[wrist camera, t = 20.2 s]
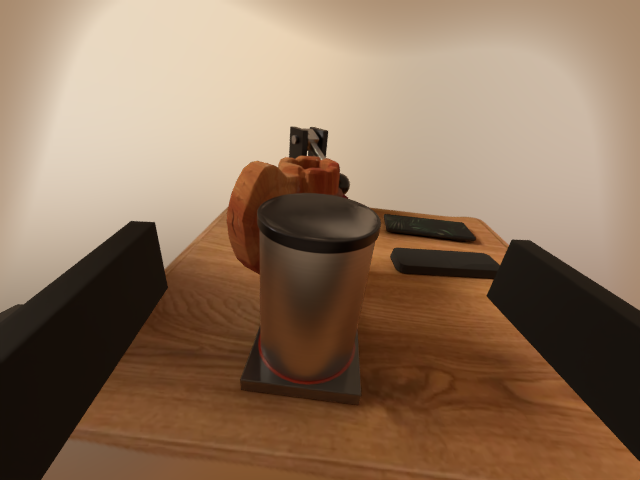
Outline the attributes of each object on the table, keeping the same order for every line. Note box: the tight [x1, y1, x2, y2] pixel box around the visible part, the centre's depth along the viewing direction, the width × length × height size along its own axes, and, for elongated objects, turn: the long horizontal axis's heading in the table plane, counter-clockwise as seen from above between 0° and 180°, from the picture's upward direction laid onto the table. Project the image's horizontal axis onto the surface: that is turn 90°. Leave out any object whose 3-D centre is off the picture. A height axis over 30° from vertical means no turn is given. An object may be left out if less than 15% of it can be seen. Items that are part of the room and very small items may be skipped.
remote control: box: [390, 248, 500, 278], centre depth 40 cm, size 5×2×15 cm
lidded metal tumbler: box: [257, 193, 381, 381], centre depth 22 cm, size 8×8×12 cm
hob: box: [240, 327, 361, 405], centre depth 25 cm, size 9×9×1 cm
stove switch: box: [289, 127, 328, 159], centre depth 52 cm, size 7×8×15 cm
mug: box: [227, 156, 348, 274], centre depth 29 cm, size 15×8×15 cm, turn 146°
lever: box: [305, 129, 350, 194], centre depth 47 cm, size 14×4×4 cm, turn 34°
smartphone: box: [384, 214, 476, 241], centre depth 51 cm, size 7×1×15 cm
